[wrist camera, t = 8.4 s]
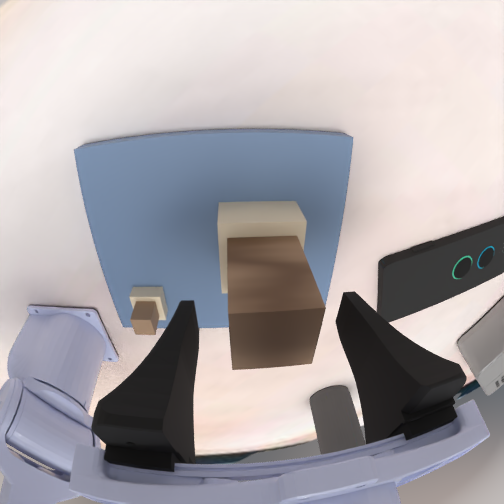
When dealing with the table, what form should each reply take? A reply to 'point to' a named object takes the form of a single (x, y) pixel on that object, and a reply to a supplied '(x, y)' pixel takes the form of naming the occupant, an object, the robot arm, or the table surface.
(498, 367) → the projector
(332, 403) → the bottle
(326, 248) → the board
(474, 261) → the smart home device
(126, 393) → the robot arm
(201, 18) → the table surface
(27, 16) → the table surface
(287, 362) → the walnut block
